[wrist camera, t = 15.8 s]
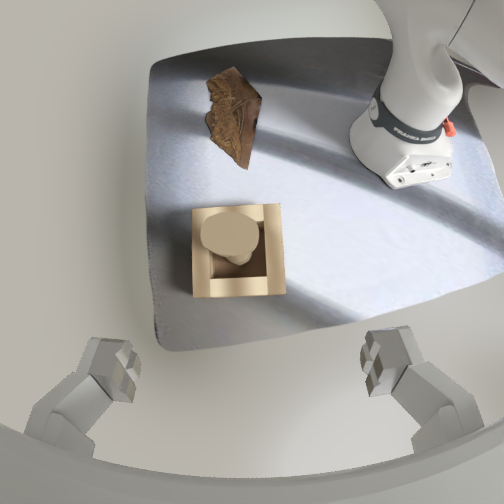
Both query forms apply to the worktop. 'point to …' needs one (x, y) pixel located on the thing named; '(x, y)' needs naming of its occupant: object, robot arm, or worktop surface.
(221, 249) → the handle
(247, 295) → the socket block
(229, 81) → the wooden fragment
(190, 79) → the worktop surface
